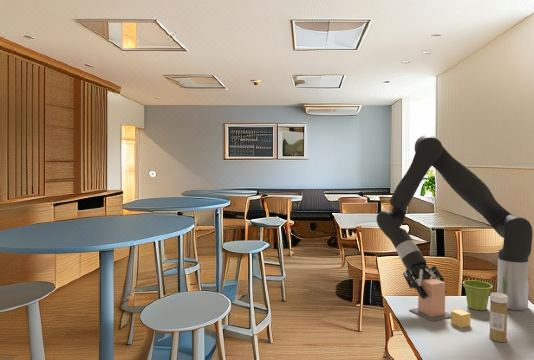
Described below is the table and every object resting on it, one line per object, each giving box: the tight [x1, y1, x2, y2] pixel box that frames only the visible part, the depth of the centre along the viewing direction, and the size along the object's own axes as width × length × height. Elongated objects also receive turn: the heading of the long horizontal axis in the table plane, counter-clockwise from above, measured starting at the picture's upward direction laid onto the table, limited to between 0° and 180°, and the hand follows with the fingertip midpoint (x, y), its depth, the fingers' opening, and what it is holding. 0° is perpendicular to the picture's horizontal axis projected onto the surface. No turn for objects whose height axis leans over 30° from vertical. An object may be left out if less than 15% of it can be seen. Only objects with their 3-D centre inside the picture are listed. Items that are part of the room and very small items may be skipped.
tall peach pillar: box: [417, 277, 446, 317], centre depth 131 cm, size 6×6×11 cm
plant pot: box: [462, 279, 493, 311], centre depth 137 cm, size 9×9×9 cm
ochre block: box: [450, 308, 471, 328], centre depth 123 cm, size 4×4×4 cm
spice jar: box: [488, 291, 508, 343], centre depth 112 cm, size 5×5×13 cm
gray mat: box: [409, 307, 451, 322], centre depth 131 cm, size 10×10×1 cm
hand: (434, 296), depth 130 cm, fingers open, 8 cm apart
